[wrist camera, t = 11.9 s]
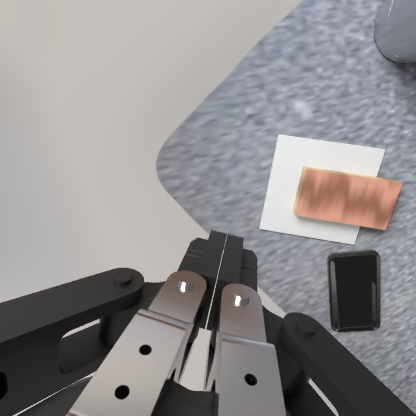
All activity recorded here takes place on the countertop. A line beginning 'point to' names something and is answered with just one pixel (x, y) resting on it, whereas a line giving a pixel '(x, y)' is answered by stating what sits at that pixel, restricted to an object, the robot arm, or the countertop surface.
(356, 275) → the phone
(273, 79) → the countertop surface
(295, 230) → the white square pad
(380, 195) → the brown flat rectangular block
